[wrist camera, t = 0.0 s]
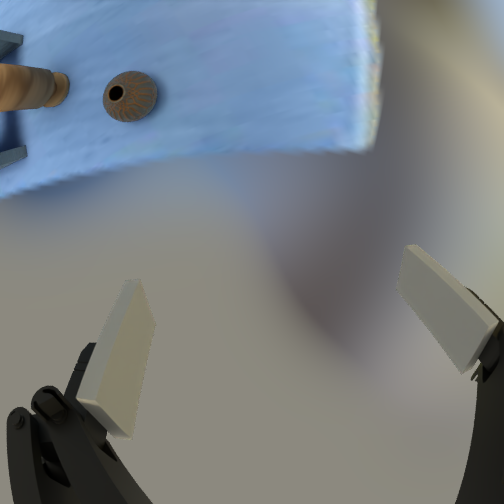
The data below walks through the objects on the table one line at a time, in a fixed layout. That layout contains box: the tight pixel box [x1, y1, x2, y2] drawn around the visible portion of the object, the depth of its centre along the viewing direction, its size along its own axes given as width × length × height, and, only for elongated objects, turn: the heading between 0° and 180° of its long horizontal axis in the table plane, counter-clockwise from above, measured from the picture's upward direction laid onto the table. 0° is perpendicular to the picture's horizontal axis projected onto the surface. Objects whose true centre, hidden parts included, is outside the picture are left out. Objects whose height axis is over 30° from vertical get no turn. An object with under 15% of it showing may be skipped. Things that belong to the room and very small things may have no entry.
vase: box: [103, 71, 157, 122], centre depth 27 cm, size 7×7×9 cm
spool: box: [0, 63, 70, 112], centre depth 20 cm, size 6×6×17 cm
